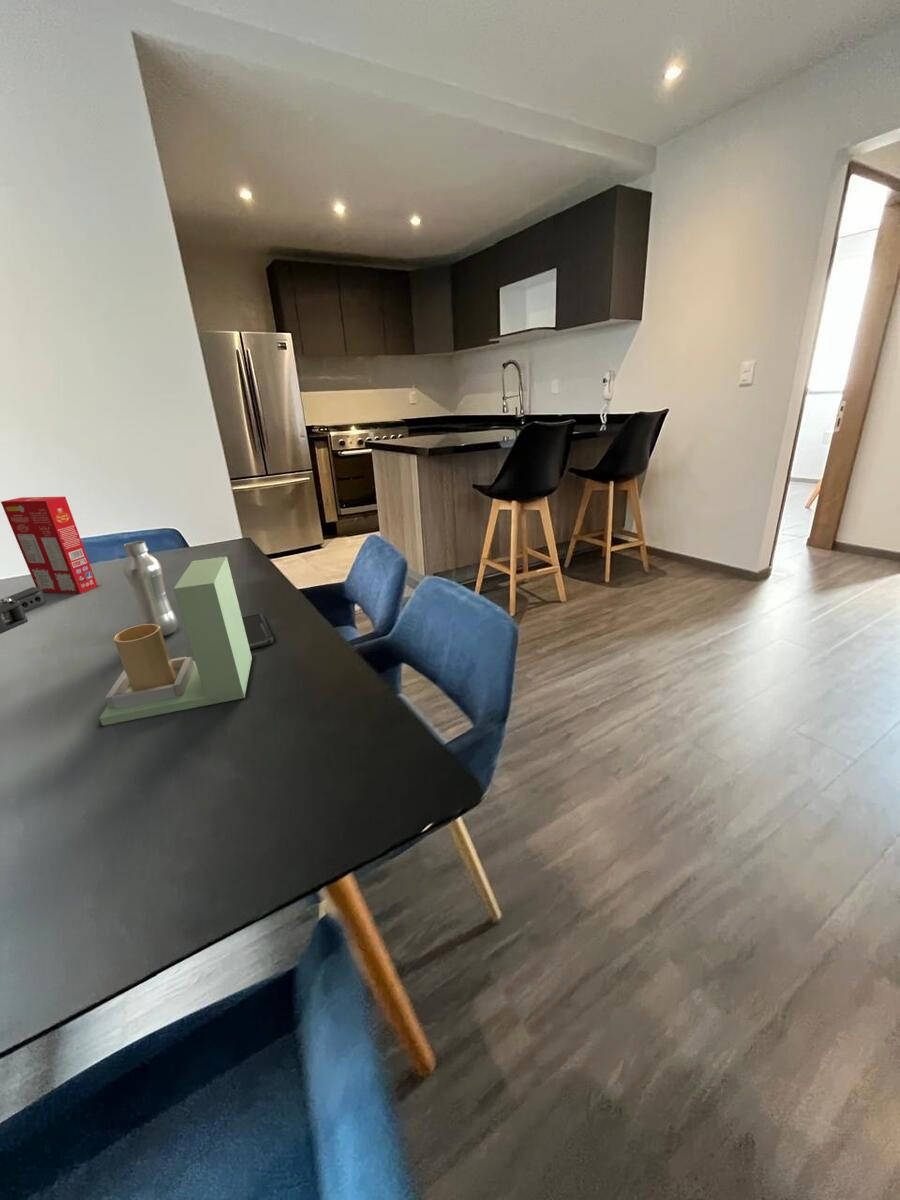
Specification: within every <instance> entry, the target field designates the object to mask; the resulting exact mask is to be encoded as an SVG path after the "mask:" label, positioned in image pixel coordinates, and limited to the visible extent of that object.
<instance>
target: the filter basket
mask: <svg viewBox="0 0 900 1200" xmlns="http://www.w3.org/2000/svg"><path fill="white" fill-rule="evenodd" d="M164 637H165V636H163V634H162V631H161V628H160V626H159V625H156V624H143V625H141V624H138V625H134V626H131V627H128V628H126V629H123V630H121V631H119V632H117V633H115V635H114V636H113V637H112V639H113V642H114V645H115V648H116V650H117V653H118V656H119V659H120V662H121V664H122V668H123V670H125V672H126V675H127V678H128V681H129V683H130V686H131V689H132V691H133V692H134V691H139V690H145V689H150V688H156V687H161V686H166V685H172V684H174V683H175V680H176V675H175V672H174V668H173V665H172V662H171V659H172V658H171V655H170V653H169V650H168V646H167V644H166V640H165V638H164Z"/></svg>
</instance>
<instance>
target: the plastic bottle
mask: <svg viewBox="0 0 900 1200" xmlns="http://www.w3.org/2000/svg"><path fill="white" fill-rule="evenodd" d="M123 548H124V551H125V555H126V556H128V557H127V560H126V562H125V564H124V567H123V573H124V576H125V578H126V580H127V582H128V584H129V586H130V587H131V589H132V593H133V594H134V597H135V600H136V603H137V607H138V612H139V616H140V625H143V624H156V625H159V626H160V628H161V631H162V634H163V637H166V636H168V635H171V634H173V633H174V632H175V631H176V630H177V629H178V617H177V615H176V613H175V612H174V610H173V608H172V606H171V603H170V600H169V598H168V595H167V592H166V586H165V582H164V575H163V568H162V564H161V563H160V561H159V560H158V559H157V558H156V557H155V556H153V555H152V554H150V553H149V552H148V551H149V548H148V546H147V543H146V541H145V540H136V541H131V542H127V543H124V544H123Z"/></svg>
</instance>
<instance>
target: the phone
mask: <svg viewBox="0 0 900 1200" xmlns="http://www.w3.org/2000/svg"><path fill="white" fill-rule="evenodd" d="M242 620H243V624H244V628H245V632H246V636H247V640H248V644H249V648H250V651H252V650H254V649H258V648H262V647H266V646H269V645H272V644H273V643H274V637H273V635H272V632H271V631H270V628H269V626H268V624H267V621H266V620H265V618H264V616H263V614H262V613H254V614H250V615H246V616H242Z"/></svg>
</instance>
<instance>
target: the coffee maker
mask: <svg viewBox="0 0 900 1200" xmlns="http://www.w3.org/2000/svg"><path fill="white" fill-rule="evenodd" d="M173 593H174V595H175V600H176V602H177V603H176V604H177V606H178V609H179V612H180V613H179V614H180V616H181V619H182V623H183V626H184V628H185V632H186V636H187V639H188V643H189V645H190V650H191V652H192V655H193V657H192V656H188V657H187V656H180V657H175V658H170V659H171V662H172V665H173V668H174V672H175V675H176V680H175V683H174V684H172V685H166V686H161V687H156V688H150V689H145V690H139V691H134V692H133V691H132V689H131V686H130V683H129V681H128V678H127V675H126V672H125V670H124V669H123V670H122V672H121V673H120V675H119V676H118V678H117V679H116V681H115V683H114V684H113V686H112V687H111V689H110V690H109V692H108V693H107V695H106V696H105V701H106V704H107V705H106V706H105V708H104V710H103V711H102V712H101V715H100V716H99V721H100V724H101V726H107V725H108V726H109V725H112V724H119V723H123V722H128V721H135V720H138V719H139V720H140V719H144V718H148V717H155V716H159V715H163V714H170V713H175V712H179V711H185V710H189V709H194V708H199V707H204V706H210V705H215V704H219V703H225V702H230V701H236V700H241V699H245V698H246V692H247V688H248V687H247V686H248V681H249V676H250V675H249V674H250V670H251V665H252V660H253V657H252V652H251V650H250V648H249V644H248V640H247V636H246V632H245V628H244V624H243V620H242V617H243V616H242V612H241V608H240V604H239V600H238V596H237V592H236V588H235V583H234V581H233V576H232V572H231V568H230V565H229V559H228V556H219V557H213V558H205V559H204V558H203V559H198V560H192V561H191V562H190V564H189V565H188V567H186V570H185V571H184V572H183V574H182V575H181V577H180V578H179V579H178V581H177V582H176V584H175V586H174V587H173Z"/></svg>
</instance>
